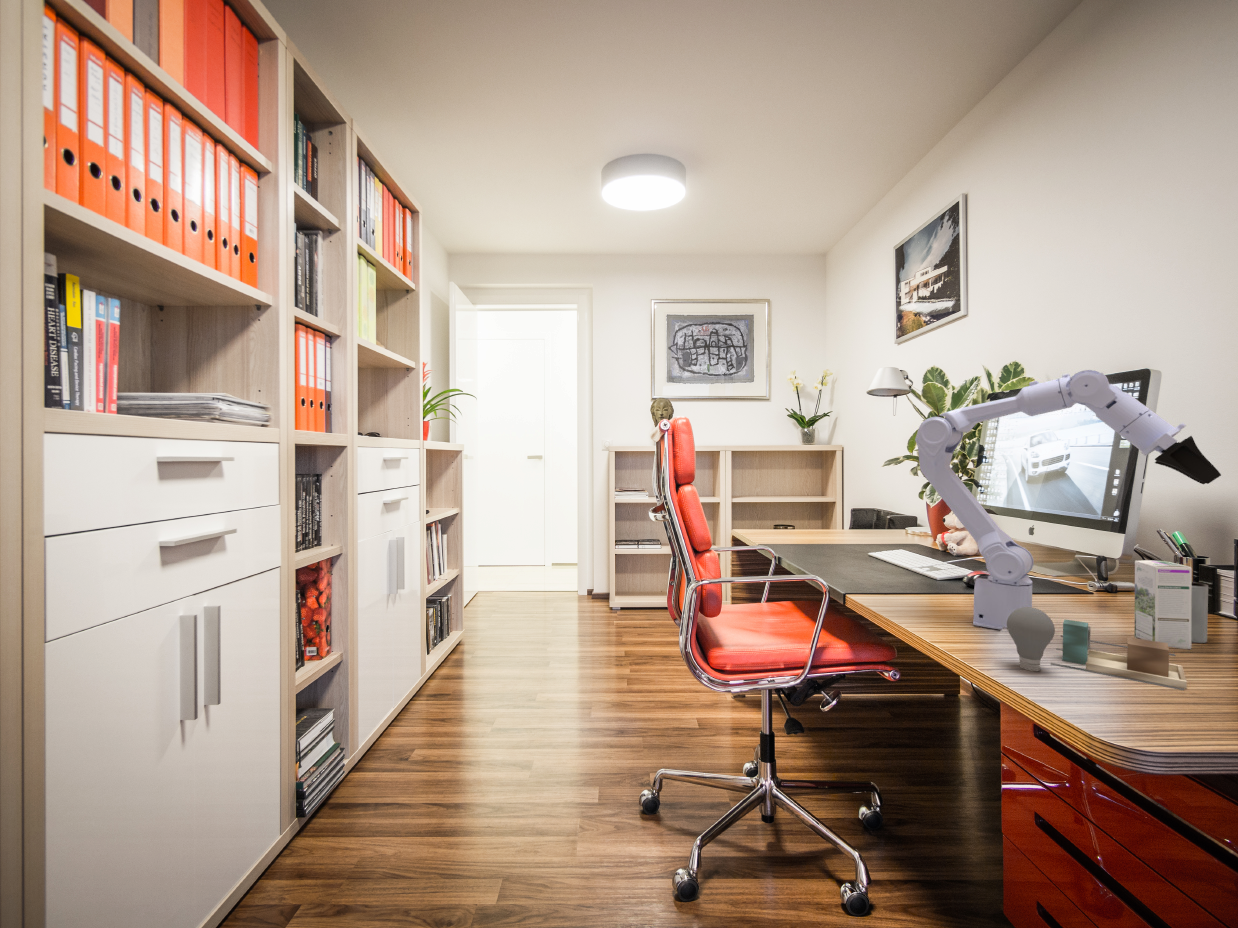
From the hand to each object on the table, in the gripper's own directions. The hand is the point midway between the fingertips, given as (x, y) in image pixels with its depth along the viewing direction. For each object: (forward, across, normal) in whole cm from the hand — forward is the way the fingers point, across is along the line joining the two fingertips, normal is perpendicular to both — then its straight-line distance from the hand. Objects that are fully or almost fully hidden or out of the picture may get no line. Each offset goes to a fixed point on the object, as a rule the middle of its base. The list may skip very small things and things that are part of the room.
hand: (1212, 480), depth 94 cm
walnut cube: (+16, -15, +26) cm, 34 cm away
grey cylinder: (+20, +16, +22) cm, 34 cm away
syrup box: (+17, +10, +24) cm, 31 cm away
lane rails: (+14, -10, +29) cm, 34 cm away
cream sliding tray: (+14, -15, +29) cm, 36 cm away
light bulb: (+7, -25, +36) cm, 45 cm away
